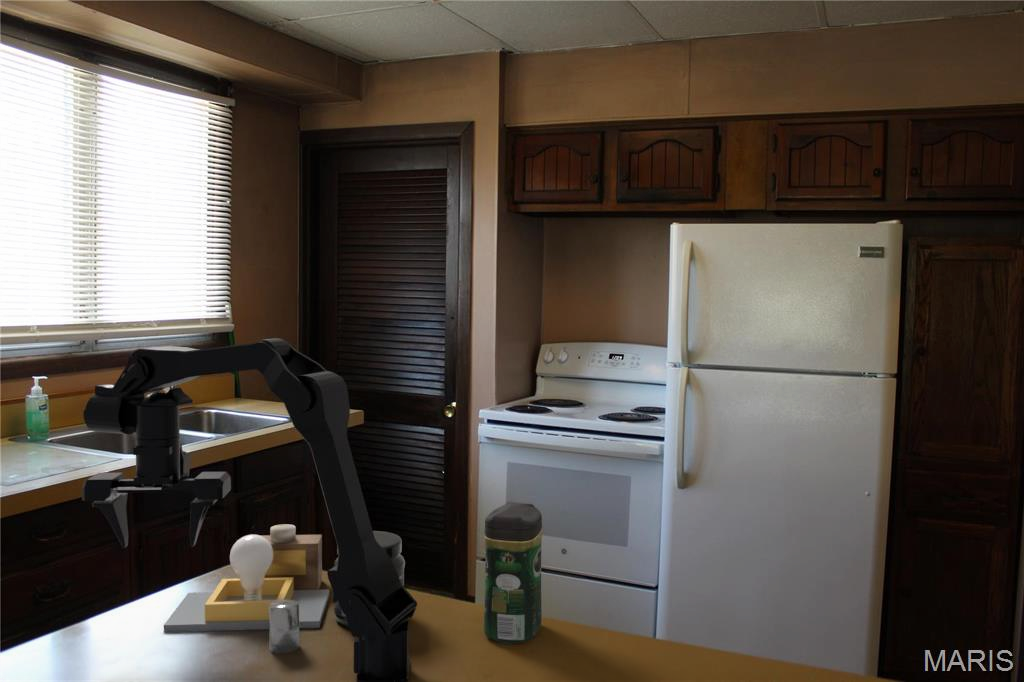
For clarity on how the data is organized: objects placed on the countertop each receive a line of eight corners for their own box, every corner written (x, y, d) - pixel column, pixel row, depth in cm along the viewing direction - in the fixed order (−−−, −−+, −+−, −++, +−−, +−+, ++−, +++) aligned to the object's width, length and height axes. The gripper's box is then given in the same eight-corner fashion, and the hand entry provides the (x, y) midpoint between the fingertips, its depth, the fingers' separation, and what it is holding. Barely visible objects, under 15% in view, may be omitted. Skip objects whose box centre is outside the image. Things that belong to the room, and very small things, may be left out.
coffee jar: (494, 616, 130) (496, 496, 129) (545, 622, 128) (547, 500, 127) (476, 642, 121) (477, 513, 120) (531, 649, 119) (533, 517, 118)
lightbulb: (261, 615, 127) (260, 542, 126) (222, 612, 128) (221, 539, 127) (282, 600, 133) (280, 530, 132) (244, 597, 134) (243, 528, 133)
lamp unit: (321, 581, 145) (321, 522, 144) (317, 592, 139) (317, 532, 139) (249, 582, 144) (248, 523, 143) (242, 594, 138) (241, 533, 138)
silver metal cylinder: (301, 641, 120) (300, 599, 120) (296, 653, 117) (296, 610, 116) (272, 641, 120) (271, 600, 120) (266, 654, 116) (266, 610, 116)
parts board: (329, 595, 138) (329, 574, 138) (319, 627, 125) (319, 604, 125) (188, 598, 136) (188, 577, 136) (163, 631, 123) (163, 608, 123)
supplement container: (387, 635, 123) (388, 553, 122) (321, 626, 126) (321, 546, 125) (414, 608, 133) (415, 533, 132) (352, 601, 136) (352, 527, 135)
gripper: (238, 426, 129) (239, 529, 130) (109, 427, 127) (111, 530, 128) (221, 440, 117) (222, 551, 119) (79, 440, 116) (81, 554, 117)
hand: (159, 546), depth 121 cm, fingers open, 9 cm apart
